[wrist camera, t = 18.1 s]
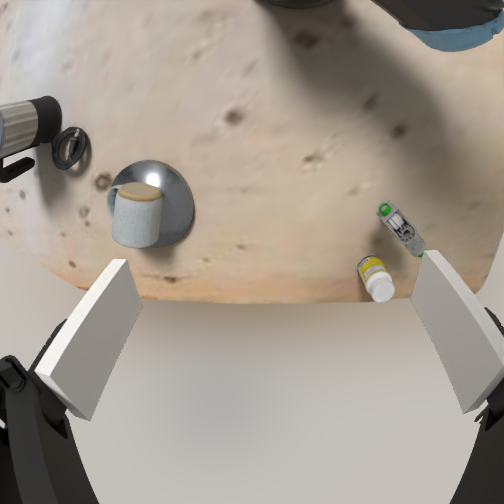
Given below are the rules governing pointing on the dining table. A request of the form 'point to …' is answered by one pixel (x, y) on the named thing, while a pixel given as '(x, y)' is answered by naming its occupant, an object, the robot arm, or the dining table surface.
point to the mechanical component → (401, 228)
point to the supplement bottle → (376, 278)
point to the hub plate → (173, 193)
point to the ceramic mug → (135, 214)
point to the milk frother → (35, 134)
